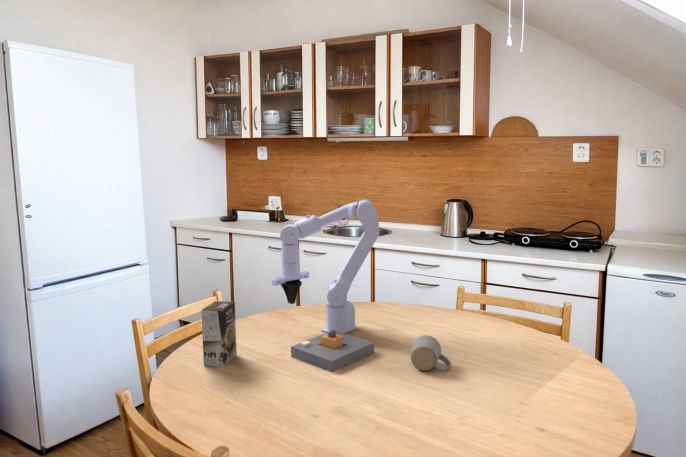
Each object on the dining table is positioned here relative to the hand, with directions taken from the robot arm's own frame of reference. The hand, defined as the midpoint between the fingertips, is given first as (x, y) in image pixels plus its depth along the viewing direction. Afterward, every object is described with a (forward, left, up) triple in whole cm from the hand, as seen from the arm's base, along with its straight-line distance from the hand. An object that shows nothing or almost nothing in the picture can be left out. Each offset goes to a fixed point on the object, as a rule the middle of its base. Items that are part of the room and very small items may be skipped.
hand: (291, 303), depth 174 cm
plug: (+6, +24, -10) cm, 26 cm away
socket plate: (+6, +24, -9) cm, 26 cm away
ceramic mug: (-5, +50, -10) cm, 51 cm away
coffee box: (+30, +3, -10) cm, 32 cm away
